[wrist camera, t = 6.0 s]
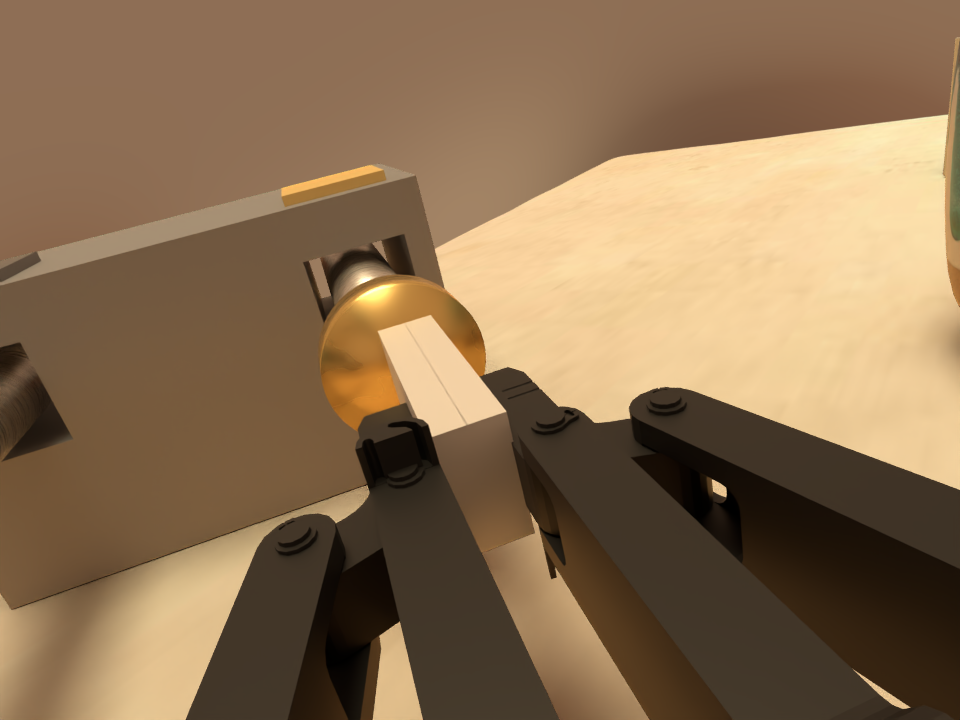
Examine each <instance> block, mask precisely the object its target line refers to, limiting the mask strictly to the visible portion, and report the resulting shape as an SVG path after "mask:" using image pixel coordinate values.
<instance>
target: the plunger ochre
mask: <svg viewBox="0 0 960 720" xmlns="http://www.w3.org/2000/svg"><path fill="white" fill-rule="evenodd" d="M320 259H321V262H322V266H323V269H324V273H325V276H326V279H327V283H328V286H329V289H330V293H331V296H332V300H333V303H334V307H333V308H332V310H331V312H330V313H329V315H328V316H327V318H326V320H325V323H324V325H323V327H322V331H321V334H320V338H319V345H318V359H319V366H320V373H321V379H322V384H323V388H324V392H325V394H326V397H327V399H328V401H329V403H330V405H331V406H332V408H333V410H334V411H335V412H336V413H337V415H338V416H339V417H340V418H341V419H342V420H343V421H344V422H345V423H346V424H347V425H348V426H350V427H351V428H353V429H354V430H356V431H357V432H358V427H359V425H360V423H361V421H362V419H363V417H364V416H367V415H370V414H373V413H376V412H379V411H382V410H385V409H388V408H391V407H394V406H397V405H400V402H399V399H398V396H397V392H396V389H395V386H394V383H393V379H392V376H391V373H390V370H389V366H388V363H387V360H386V357H385V353H384V350H383V347H382V344H381V340H380V337H379V334H378V331H380V330H383V329H387V328H390V327H393V326H396V325H400V324H403V323H406V322H409V321H413V320H416V319H419V318H422V317H426V316H429V315H431V316H432V317H433V319H434V320H435V321H436V323H437V324H438V325H439V326H440V328H441V329H442V330H443V331H444V333H445V334H446V335H447V337H448V338H449V339H450V340H451V342H452V343H453V344H454V345H455V347H456V348H457V349H458V351H459V352H460V353H461V354H462V356H463V357H464V358H465V359H466V361H467V362H468V363H469V364H470V366H471V367H472V368H473V370H474V371H475V372H476V373H477V375H478V376H479V377H480V376H483V375H484V372H485V364H486V353H485V346H484V341H483V338H482V334H481V332H480V329H479V327H478V325H477V323H476V322H475V320H474V319H473V317H472V316H471V314H470V313H469V312H468V311H467V310H466V309H465V307H464V306H463V305H461V304H460V303H459V302H458V301H457V300H456V299H455V298H454V297H453V296H452V295H451V294H450V293H449V292H447V291H446V290H445V289H444V288H442V287H441V286H439V285H438V284H436V283H434V282H432V281H429V280H427V279H424V278H421V277H417V276H412V275H399V274H396V273H395V271H394V270H393V269H392V268H391V266H390V265H389V264H388V263H387V261H386V260H385V259H384V258H383V257H382V255H381V254H380V253H379V252H378V250H377V249H376V248H375V247H374V245H373V244H372V243H370V244H366V245H363V246H359V247H356V248H352V249H348V250H345V251H341V252H338V253H334V254H331V255H327V256H324V257H320Z"/></svg>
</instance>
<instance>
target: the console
mask: <svg viewBox="0 0 960 720" xmlns="http://www.w3.org/2000/svg"><path fill="white" fill-rule="evenodd" d="M380 240H381V241H382V244H383V247H384V251H385V254H386V258H387V261H388V264H389V265H390V266H391V268H392V269H393V270H394V271H395V273H396V274H399V275H412V276H417V277H421V278H424V279H427V280H429V281H432V282H434V283H436V284H438V285H439V286H441V287H442V288H444V284H443V280H442V276H441V273H440V269H439V265H438V261H437V257H436V253H435V249H434V245H433V241H432V238H431V233H430V229H429V225H428V221H427V218H426V214H425V210H424V206H423V202H422V198H421V194H420V190H419V186H418V183H417V178H416V176H415V175H413V174H410V173H407V172H404V171H401V170H398V169H395V168H392V167H388V166H386V165H382V164H376V165H369V166H365V167H361V168H357V169H353V170H349V171H346V172H342V173H338V174H334V175H330V176H326V177H323V178H319V179H315V180H311V181H307V182H303V183H299V184H295V185H291V186H288V187H284V188H282V189H279V190H275V191H271V192H267V193H264V194H260V195H256V196H252V197H248V198H244V199H241V200H237V201H233V202H229V203H225V204H222V205H217V206H213V207H210V208H206V209H202V210H198V211H194V212H190V213H187V214H183V215H179V216H175V217H171V218H167V219H163V220H159V221H156V222H152V223H148V224H144V225H140V226H136V227H133V228H129V229H125V230H121V231H117V232H113V233H109V234H105V235H101V236H98V237H94V238H90V239H86V240H82V241H78V242H75V243H70V244H67V245H63V246H59V247H55V248H51V249H47V250H44V251H40V252H32V253H29V254H25V255H21V256H18V257H14V258H9V259H5V260H2V261H0V348H1V347H4V346H8V345H11V344H15V343H18V342H20V343H21V345H22V347H23V348H24V350H25V352H26V354H27V356H28V358H29V359H30V361H31V363H32V365H33V367H34V368H35V370H36V372H37V374H38V376H39V378H40V379H41V381H42V383H43V385H44V387H45V388H46V390H47V392H48V394H49V396H50V398H51V399H52V401H53V402H52V403H51V404H50V405H49V406H48V407H47V409H46V410H45V411H44V412H43V413H42V414H41V416H40V417H39V418H38V419H37V420H36V421H35V423H34V424H33V425H32V426H31V427H30V429H29V430H28V431H27V432H26V433H25V434H24V436H23V437H22V438H21V439H20V440H19V441H18V443H17V444H16V445H15V446H14V447H13V448H12V450H11V451H10V452H9V453H8V454H7V455H6V457H5V458H4V459H3V460H2V461H1V462H0V593H1V595H2V596H3V598H4V599H5V601H6V602H7V604H8V605H9V607H10V608H11V609H14V608H17V607H20V606H22V605H25V604H28V603H31V602H34V601H37V600H39V599H42V598H45V597H48V596H51V595H54V594H56V593H59V592H62V591H65V590H68V589H71V588H73V587H76V586H79V585H82V584H85V583H88V582H91V581H93V580H96V579H99V578H102V577H105V576H108V575H110V574H113V573H116V572H119V571H122V570H125V569H127V568H130V567H133V566H136V565H139V564H142V563H144V562H147V561H150V560H153V559H156V558H159V557H161V556H164V555H167V554H170V553H173V552H176V551H178V550H181V549H184V548H187V547H190V546H193V545H196V544H198V543H201V542H204V541H207V540H210V539H213V538H215V537H218V536H221V535H224V534H227V533H230V532H232V531H235V530H238V529H241V528H244V527H247V526H249V525H252V524H255V523H258V522H261V521H264V520H266V519H269V518H272V517H275V516H278V515H281V514H283V513H286V512H289V511H292V510H295V509H298V508H301V507H303V506H306V505H309V504H312V503H315V502H318V501H320V500H323V499H326V498H329V497H332V496H335V495H337V494H340V493H343V492H346V491H349V490H352V489H354V488H357V487H360V486H363V485H366V484H367V482H366V479H365V477H364V474H363V471H362V468H361V465H360V462H359V459H358V457H357V454H356V451H355V447H356V442H357V441H358V440H359V433H358V432H357V431H356V430H354V429H353V428H351V427H350V426H348V425H347V424H346V423H345V422H344V421H343V420H342V419H341V418H340V417H339V416H338V415H337V413H336V412H335V411H334V410H333V408H332V406H331V405H330V403H329V401H328V399H327V397H326V394H325V392H324V388H323V384H322V379H321V373H320V366H319V359H318V345H319V338H320V334H321V331H322V327H323V325H324V323H325V320H326V318H327V316H328V315H329V313H330V312H331V310H332V308H333V307H334V303H333V300H332V296H329V297H326V298H321V296H320V293H319V290H318V287H317V284H316V281H315V278H314V275H313V272H312V269H311V266H310V263H309V260H313V259H316V258H320V257H324V256H327V255H331V254H334V253H338V252H341V251H345V250H348V249H352V248H356V247H359V246H363V245H366V244H370V243H373V242H377V241H380ZM444 289H445V288H444Z"/></svg>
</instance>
